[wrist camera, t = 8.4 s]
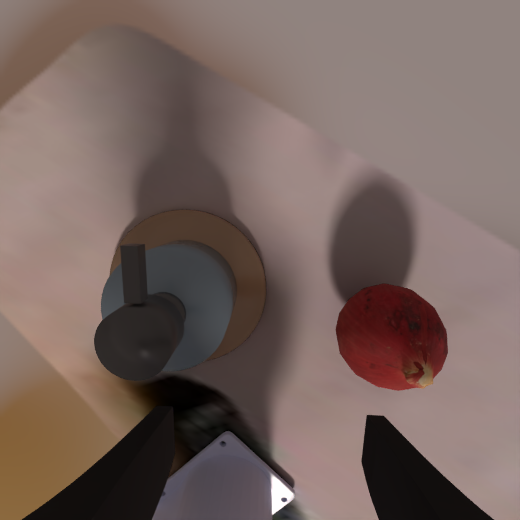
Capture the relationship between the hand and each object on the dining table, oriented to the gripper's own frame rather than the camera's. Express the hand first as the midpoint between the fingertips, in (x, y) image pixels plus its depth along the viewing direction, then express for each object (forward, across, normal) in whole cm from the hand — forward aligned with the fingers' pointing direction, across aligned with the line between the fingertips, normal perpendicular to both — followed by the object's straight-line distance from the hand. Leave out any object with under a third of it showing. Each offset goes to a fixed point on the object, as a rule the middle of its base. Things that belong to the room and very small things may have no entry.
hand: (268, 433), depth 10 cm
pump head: (+5, +6, -3) cm, 8 cm away
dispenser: (+10, +6, -2) cm, 12 cm away
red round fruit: (+11, -7, -1) cm, 13 cm away
